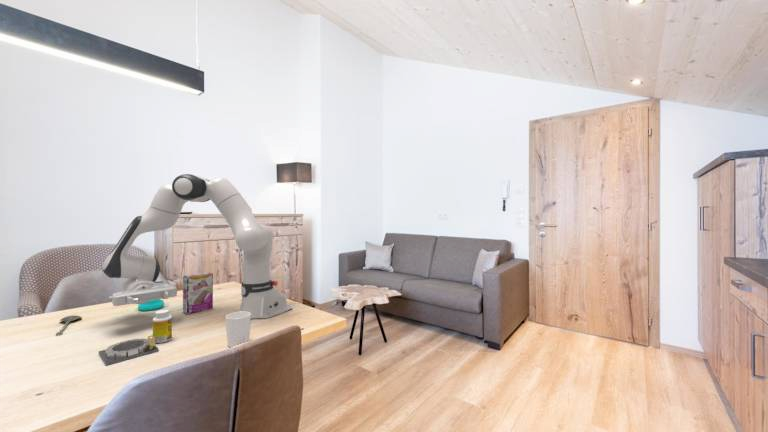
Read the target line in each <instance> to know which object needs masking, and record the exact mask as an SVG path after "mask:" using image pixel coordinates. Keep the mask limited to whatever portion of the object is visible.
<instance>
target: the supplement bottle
mask: <svg viewBox="0 0 768 432" xmlns="http://www.w3.org/2000/svg"><path fill="white" fill-rule="evenodd" d="M152 335H155V344H163V343H166V342H169V341H170V340H172V338H173V316H172V315H170V310H169V309H160V310H157V311H155V316H154V317H153V318H152Z"/></svg>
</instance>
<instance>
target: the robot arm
mask: <svg viewBox="0 0 768 432" xmlns="http://www.w3.org/2000/svg"><path fill="white" fill-rule="evenodd" d="M209 201H211V202H212V203H213V204H214V206H215V207H216V208H217V209H218V212H219V213H220V214H221V215H222V217H224V219H225V220H226V222H227V224H228V225H229V228H230V230H231V232H232V234H233V236H234V238H235V244H236V246H237V247H238V248H239V249H240V250H242V251H245V253H244V254H245V255H244V259H243V262H242V265H241V266H242V282H241V291H240V292H241V305H240V309H239V312H241V311H246V312H250V313H251V319H269V318H272V317H275V316H278V315H280V314H283V313H286V312H288V310H289V311H291V310H292V309H293V306H292V305H291V304H289V303H288V302H287V298H286V295H284V294H283V293H282V292H281V291H279V290H278V289H276V288H274V287H277V286H278V284H279V282H278V281H276V280H271V279H270V275H271V274H270V271H271V270H270V269H271V267H270V266H271V262H270V261H271V256H272V255H271V254H272V247H273V239H274V232H273V230H272V229H271V228H270V227H269V226H268V225H266V224H262V223H260V224H259V223H258V221H257V218H256V217H255V216H254V213H253V211H252V208H251V206H250V205H249V204H248V202H247V201H246V200H245V198H244V197H243V196H242V194H241V193H240V192H239V191H238V189H237V188H236V186H234V184H232V182H231V181H229V180H228V179H227V178H224V177H222V176H221V177H216V178H214V179H212V180H210V179H207V178H204V177H202V176H199V175H194V174H191V173H190V174H189V173H185V174H180V175H178V176H177V177H175V178H174V179H173V180H172V184H171V183H167V184H166V183H165V184H162V185H161V186H160V187H159V188H158V190H157V192H156V193H155V194H154V196H153V198H152V201H151V203H150V206H149V208H148V209H147V210H146V211H145V212H144V213H143V214H142V215H137V216H136V217H135V218H134V219H132V221H131V222H130V224H129V225H128V227H127V228H126V229H125V231H124V232H123V234H122V235H121V237H120V239H119V240H118V242H117V243H116V245H115V246H114V247H113V249H112V251H111V252H110V253H109V254H108V256H107V257H106V258H105V260H104V261H103V264H102V268H101V269H102V272H103V274H105V276H107V277H108V278H109V279H113V278H114V279H121V278H122V279H124V280H123V281H122V284H121V286H120V289H121V291H117V292H114V293H112V295H111V296H110V295H109V296H108V300H109V301H112V306H114V307H120V306H126V305H139V304H145V303H147V302H150V301H153V300H157V299H160V300H162V299H163V300H166V299H167V300H168V299H169V298H175V297H177V296H178V287H177V286H176V285H173V284H172V283H171V284H170V283H168V282H167V281H165V280H163V281H157V280H158V278H159V275H160V271H161V265H160V262H159V260H157V258H156V257H152V256H145V255H138V254H130V253H128V252H129V250H130V248H131V247H132V245H133V244H134V243H135V241H136V239H137V238H138V237H139V236H140V235H142V234H145V233H151V232H152V233H153V232H161V231H165V230H168V229H170V228H172V227H174V226H175V225H176V223H177V222H178V219H179V218H180V215H181V212H182V209H183V207H184V205H185V204H186V203H188V202H191V203H194V202H195V203H205V202H206V203H207V202H209ZM290 309H291V310H290ZM285 311H286V312H285Z"/></svg>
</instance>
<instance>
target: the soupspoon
mask: <svg viewBox="0 0 768 432" xmlns="http://www.w3.org/2000/svg"><path fill="white" fill-rule="evenodd" d="M82 318H83V317H82V316H81V315H80V316H79V315H76V314H75V315H69V316H68V315H67V316H64V317H62V318H61V319H59V321H61V322H65V323H64V324H63V325H62V328H61V329H60V330H59V331H58V332H56V333H55V336H56V337H57V336H62V335H63V332H64V330H65V328H66V327H67V326H68V324H69V323H70V322H73V321H75V320H77V319H82Z"/></svg>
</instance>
